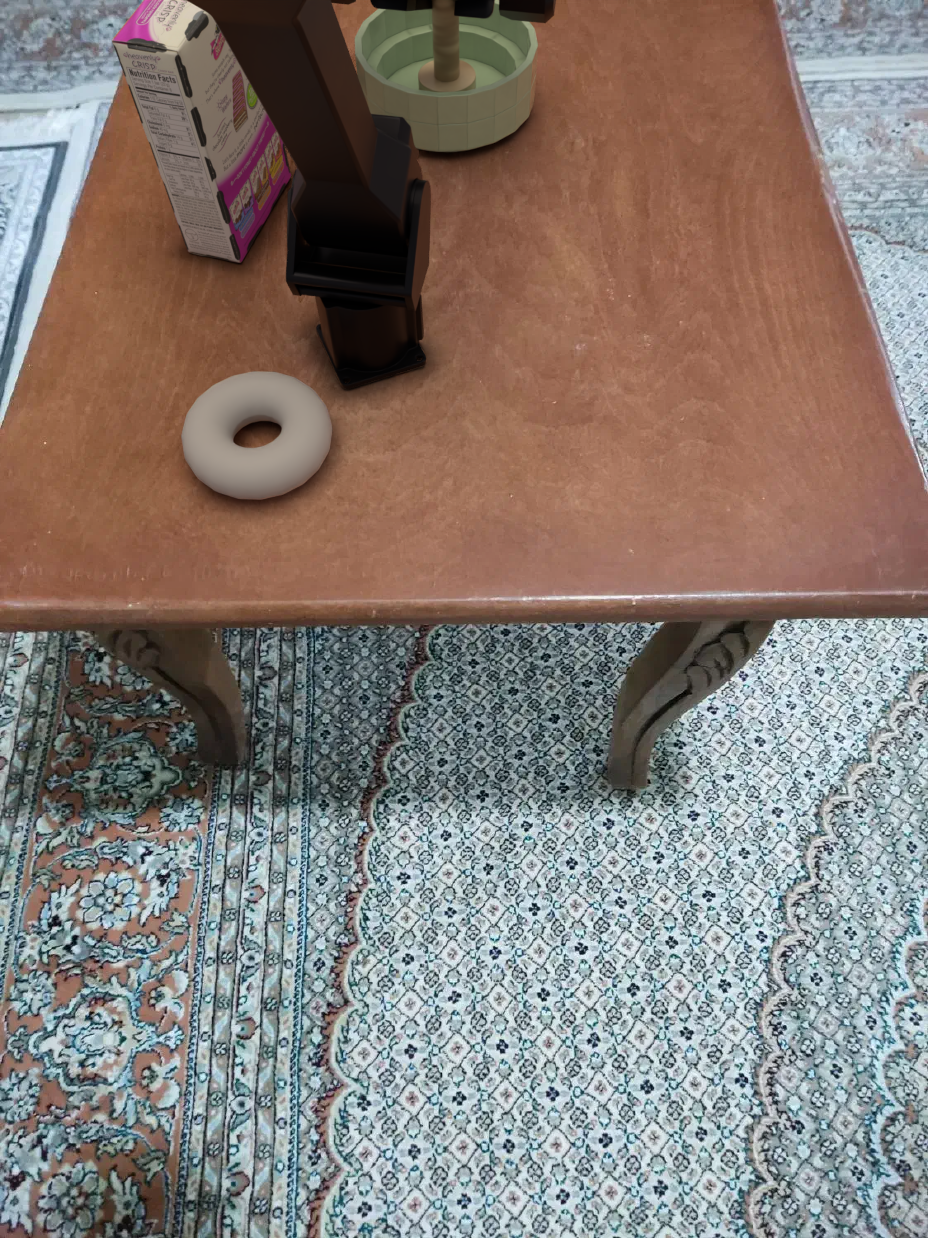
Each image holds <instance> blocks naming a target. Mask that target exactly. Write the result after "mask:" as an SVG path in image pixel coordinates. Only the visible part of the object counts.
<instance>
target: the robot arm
mask: <svg viewBox="0 0 928 1238" xmlns="http://www.w3.org/2000/svg"><path fill="white" fill-rule="evenodd" d="M186 1H188V2H190V3H192V4H193V5H195V6H197V7H199V8H200V9H202V10H204V11H206V12H207V13H209V14H210V15H211V16H212V17H213V19H214V21H215V23H216V24H217V26H218V28H219V30H220V32H221V33H222V35H223V37H224V39H225V40H226V42H227V44H228V46H229V48H230V49H231V51H232V53H233V55H234V56H235V58H236V60H237V62H238V64H239V65H240V67H241V69H242V71H243V72H244V74H245V76H246V78H247V80H248V81H249V83H250V85H251V87H252V88H253V90H254V92H255V94H256V95H257V97H258V99H259V101H260V103H261V104H262V106H263V108H264V110H265V111H266V113H267V115H268V117H269V119H270V120H271V122H272V124H273V126H274V127H275V129H276V131H277V133H278V135H279V136H280V138H281V140H282V142H283V143H284V145H285V150H286V152H287V153H288V154H289V156H290V158H291V160H292V162H293V163H294V164H295V167H296V169H295V170H294V173H293V176H292V180H291V187H290V188H289V189H288V190H287V202H286V203H287V204H286V205H287V207H286V210H287V212H286V262H285V263H286V265H285V282H286V284H287V286H288V288H289V290H290V292H291V294H292V295H293V296H295V297H297V296H298V297H302V296H307V297H308V296H309V297H314V300H315V303H316V309H317V314H318V319H319V320H318V321H319V323H318V324H317V325H316V327H315V330H316V334H317V337H318V339H319V341H320V343H321V345H322V348H323V350H324V352H325V354H326V356H327V359H328V361H329V364H330V365H331V367H332V369H333V370H332V371H334V374H335V376H336V378H337V381H338V383H339V385H340V387H341V388H342V389H344V390H351V389H354V388H357V387H360V386H363V385H366V384H370V383H374V382H377V381H380V380H383V379H386V378H389V377H392V376H396V375H399V374H403V373H406V372H409V371H412V370H415V369H419V368H422V367H424V366H425V365H426V364H427V362H428V361H427V355H426V353H425V351H424V349H423V348H422V346H421V343H420V342H421V341H423V339H424V338H425V331H424V330H425V329H424V314H423V313H424V312H423V299H422V294H421V293H422V291H423V287H424V283H425V280H426V278H427V273H428V270H429V267H430V253H431V252H430V251H431V250H430V249H431V220H432V219H431V218H432V216H431V215H432V189H431V188H432V187H431V184H430V181H429V180H425V179H424V176H423V171H422V167H421V164H420V163H419V159H418V158H419V156H420V149H417V148H416V147H415V145H414V141H413V136H412V130H411V126H410V125H409V124H408V123H407V121H406V120H405V119H404V118H403V117H397V116H388V115H378V114H371V113H370V110H369V107H368V104H367V101H366V98H365V96H364V93H363V90H362V87H361V84H360V82H359V79H358V76H357V69H356V68H355V67H356V66H355V65H354V62H353V60H352V56H351V54H350V50H349V48H348V45H347V43H346V40H345V36H344V34H343V31H342V28H341V25H340V22H339V19H338V17H337V14H336V11H335V8H334V6H333V4H337V5H347V6H349V5H351V4H353V3H356V2H357V0H186ZM369 1H370V4H371V5H372V7H373V8H375V9H376V10H377V9H386V10H396V11H417V10H430V9H432V1H431V0H369ZM494 3H495V0H455V9H454V16H459V17H470V18H481V19H487V18H489V17H491V15H492V14H493V11H494ZM556 4H557V0H499V13H500V15H501V16H503V17H505V18H508V19H510V20H516V21H526V22H530V23H537V24H546V23H548V22H549V21H550V20H551V19H552V18H553V17H554V16H555V11H556V6H557V5H556Z"/></svg>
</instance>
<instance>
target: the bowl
mask: <svg viewBox="0 0 928 1238" xmlns="http://www.w3.org/2000/svg"><path fill="white" fill-rule="evenodd" d="M538 51H539V43H538V39H537V33H536V28H535V26H533V25H532V22H526V21H516V20H510V19H508V18H505V17H503V16H501V15H500V13H499V0H495V3H494V11H493V14H492V15H491V17H489V18H487V19H481V18H470V17H459V60H462V61H464V62H467V63H468V64H470V65H471V66H472V67H473V68H474V70H475V73H476V88H475V89H471V90H467V91H455V92H432V91H425V90H419V87H418V73H419V70H420V69H421V67H423V66H424V65H425V64H426V63H428V62H430V61H433V60H434V57H433V29H432V9H430V10H417V11H396V10H386V9H377V8H376V10H375V11H374V12H372V13H371V14H370V15H369V16H368V17H367V18H365V19H364V20H363V21H362V23H361V25H360V27H359V28H358V30H357V32H356V34H355V36H354V58H355V67H356V73H357V76H358V79H359V82H360V84H361V87H362V90H363V93H364V96H365V98H366V101H367V104H368V107H369V110H370V113H371V114H378V115H388V116H397V117H403V118H404V119H405V120H406V121H407V123H408V124H409V125H410V126H411V130H412V136H413V141H414V145H415V147H416V149H418V150H422V151H427V152H433V153H434V152H435V153H458V152H466V151H470V150H475V149H479V148H482V147H485V146H488V145H492V144H494V143H497V142H499V141H500V140H502V139H504V138H506V137H508V136H509V135H512V134H513V133H515V132H516V131H517V130H518V129H520V127H521V126H522V125H523V124H524V123H525V121H527V119H529V117H530V114H531V111H532V109H533V107H534V102H535V99H536V83H537V70H538V69H537V67H538V53H539V52H538Z"/></svg>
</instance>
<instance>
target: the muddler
mask: <svg viewBox="0 0 928 1238" xmlns="http://www.w3.org/2000/svg"><path fill="white" fill-rule="evenodd" d="M431 1H432V29H433V57H434V60H433V61H430V62H428V63H426V64H425V65H424V66H423V67H421V69H420V70H419V73H418V87H419V90H425V91H432V92H455V91H467V90H471V89H475V88H476V73H475V70H474V68H473V67H472V66H471V65H470V64H468V63H467V62H464V61H462V60H459V16H454V9H455V0H431Z"/></svg>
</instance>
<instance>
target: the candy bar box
mask: <svg viewBox="0 0 928 1238" xmlns="http://www.w3.org/2000/svg"><path fill="white" fill-rule="evenodd" d="M111 43H112V46H113V48H114V50H115V54H116V56H117V59H118V62H119V65H120V68H121V70H122V72H123V75H124V79H125V81H126V84H127V86H128V90H129V92H130V96H131V98H132V100H133V103H134V106H135V109H136V111H137V114H138V117H139V121H140V123H141V127H142V128H143V131H144V134H145V136H146V139H147V140H146V141H147V143H148V144H149V146H150V150H151V152H152V157H153V158H154V160H155V164H156V167H157V170H158V174H159V176H160V179H161V180H162V184H163V186H164V189H165V192H166V195H167V197H168V200H169V203H170V205H171V208H172V209H171V210H172V212H173V214H174V218H175V221H176V222H177V225H178V229H179V231H180V234H181V236H182V239H183V242H184V245H185V247H186V250H187V253H190V254H193V255H197V256H199V257H206V258H207V257H208V258H213V259H218V260H223V261H227V262H233V263H239V264H241V263H242V262H243V261H244V259H245V257H246V256H247V254H248V252H249V251H250V249H251V247H252V245H253V243H254V242H255V240H256V238H257V237H258V235H259V233H260V231H261V229H262V227H263V226H264V224H265V222H266V221H267V219H268V217H269V215H270V213H271V212H272V210H273V208H274V206H275V205H276V203H277V201H278V199H280V196H281V194H282V193H283V191H284V190H285V187H286V186H287V184H288V182H290V179H291V177H292V172H291V169H290V164H289V159H288V155H287V154H288V153H287V149H286V147H285V145H284V143H283V142H282V140H281V138H280V136H279V135H278V133H277V131H276V129H275V127H274V126H273V124H272V122H271V120H270V119H269V117H268V115H267V113H266V111H265V110H264V108H263V106H262V104H261V103H260V101H259V99H258V97H257V95H256V94H255V92H254V90H253V88H252V87H251V85H250V83H249V81H248V80H247V78H246V76H245V74H244V72H243V71H242V69H241V67H240V65H239V64H238V62H237V60H236V58H235V56H234V55H233V53H232V51H231V49H230V48H229V46H228V44H227V42H226V40H225V39H224V37H223V35H222V33H221V32H220V30H219V28H218V26H217V24H216V23H215V21H214V19H213V17H212V16H211V15H210V14H209V13H207V12H206V11H204V10H202V9H200V8H199V7H197V6H195V5H193V4H192V3H190V2H188V1H186V0H142V1H141V3H140V4H139V6H138V7H136V8H135V10H134V11H133V13H132V14H131V15H130V17H129V18H128V19H127V20H126V21H125V23H124V24H123V25H122V26H121V28H120V29H119V30H118V32H117V33H116V34H115V35H114V36H113V37H112V39H111Z"/></svg>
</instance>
